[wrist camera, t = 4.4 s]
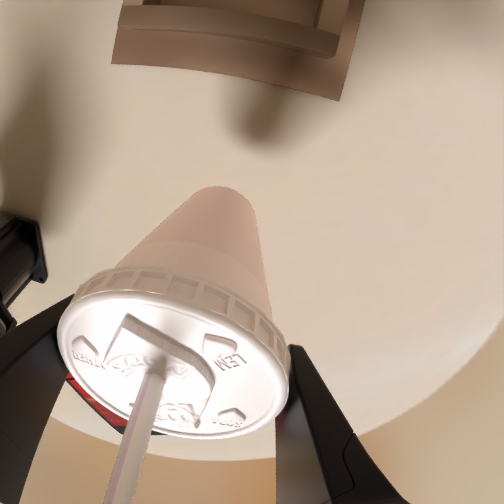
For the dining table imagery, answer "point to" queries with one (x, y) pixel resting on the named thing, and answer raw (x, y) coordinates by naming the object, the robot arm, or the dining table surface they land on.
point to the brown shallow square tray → (244, 39)
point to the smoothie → (180, 334)
